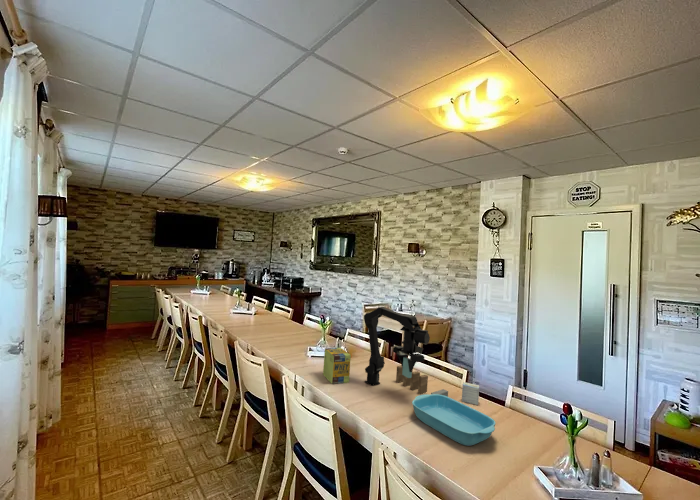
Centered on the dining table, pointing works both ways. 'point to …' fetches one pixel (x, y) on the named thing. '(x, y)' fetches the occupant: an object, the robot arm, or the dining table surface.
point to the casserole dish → (453, 418)
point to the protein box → (336, 365)
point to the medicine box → (470, 393)
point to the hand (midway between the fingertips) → (407, 370)
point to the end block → (441, 392)
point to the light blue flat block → (406, 368)
